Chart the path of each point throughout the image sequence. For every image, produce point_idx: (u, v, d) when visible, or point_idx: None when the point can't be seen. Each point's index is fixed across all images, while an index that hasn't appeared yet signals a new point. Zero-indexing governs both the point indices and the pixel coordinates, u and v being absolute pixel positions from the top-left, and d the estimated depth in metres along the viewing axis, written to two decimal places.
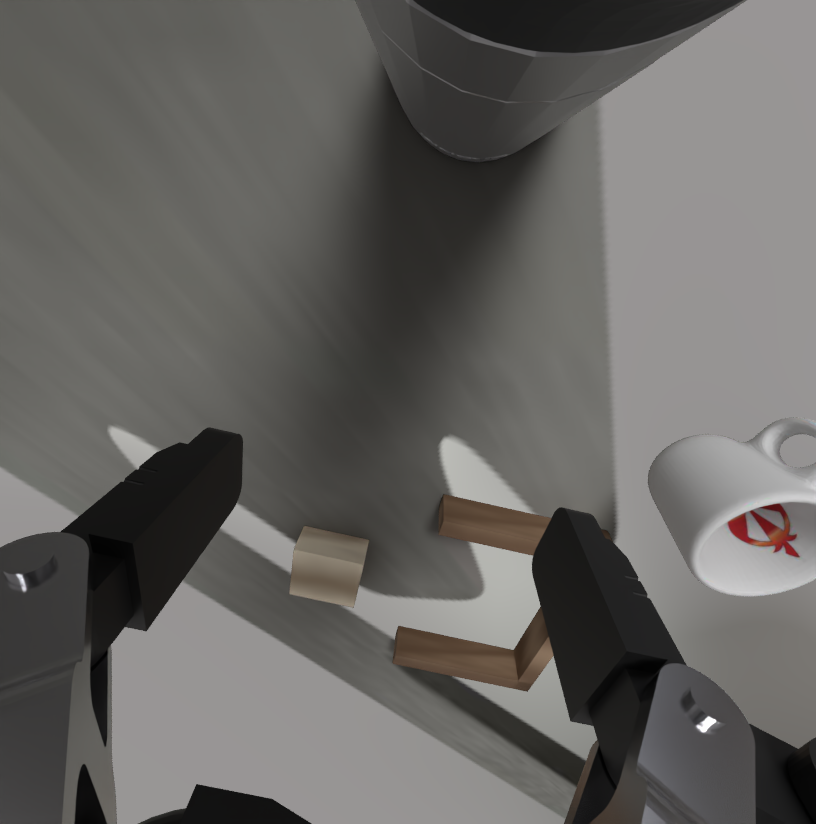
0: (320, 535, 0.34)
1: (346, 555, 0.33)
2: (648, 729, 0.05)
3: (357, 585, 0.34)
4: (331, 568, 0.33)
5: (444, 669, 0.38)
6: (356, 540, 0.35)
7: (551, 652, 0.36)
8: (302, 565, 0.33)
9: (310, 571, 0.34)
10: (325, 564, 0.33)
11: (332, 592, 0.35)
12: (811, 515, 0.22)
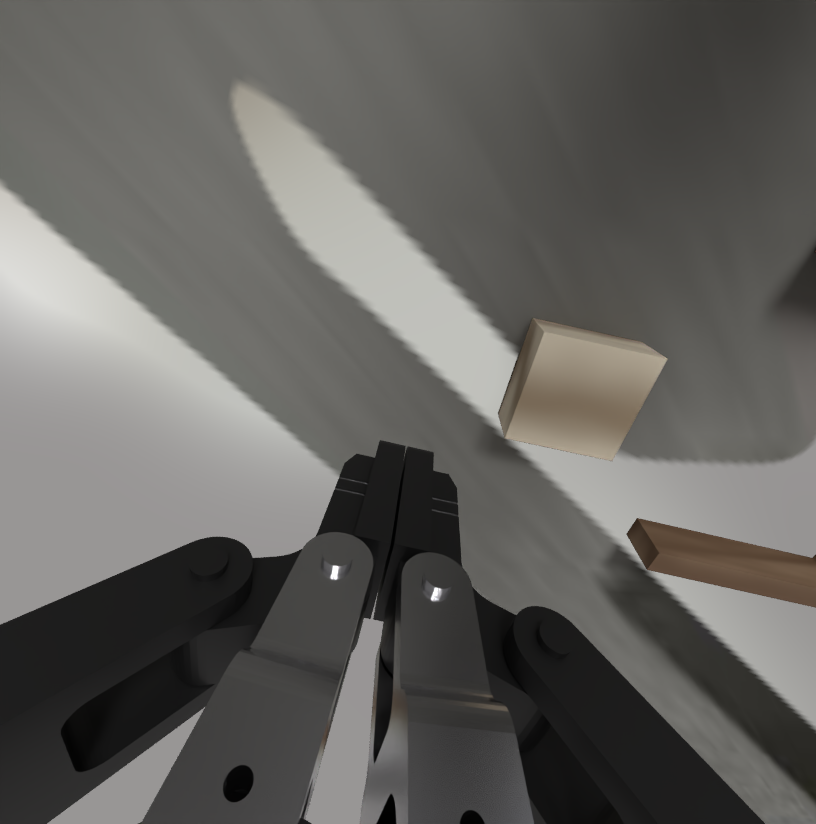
0: (567, 328, 0.20)
1: (629, 348, 0.19)
2: (402, 635, 0.05)
3: (637, 409, 0.20)
4: (601, 372, 0.19)
5: (733, 579, 0.24)
6: (625, 339, 0.20)
7: None
8: (549, 368, 0.19)
9: (559, 382, 0.19)
10: (593, 363, 0.19)
11: (584, 429, 0.20)
12: None
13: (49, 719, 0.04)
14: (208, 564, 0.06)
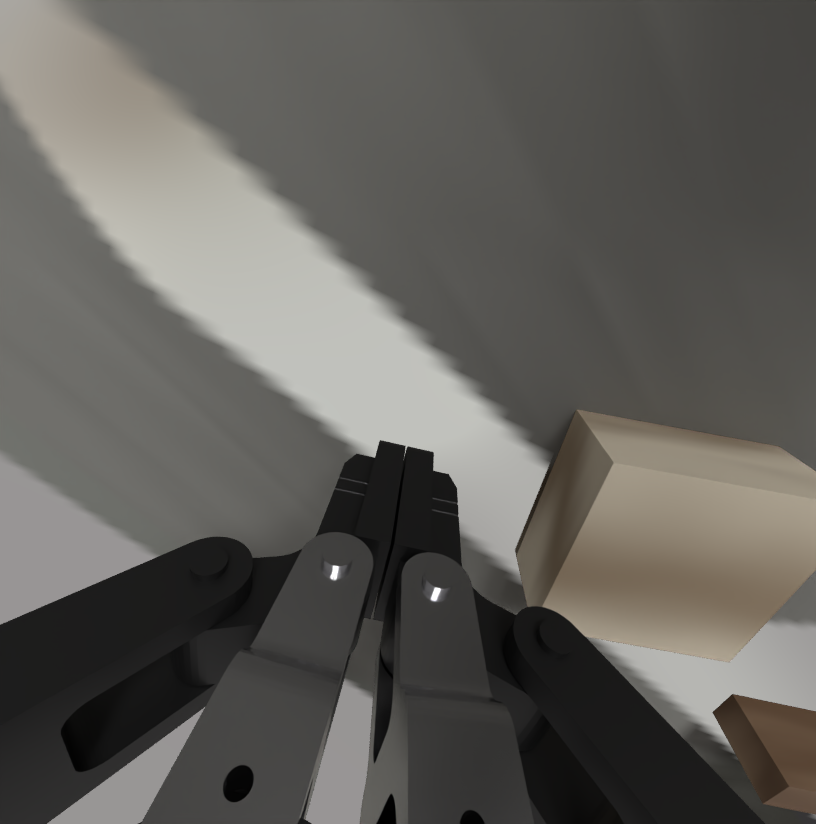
0: (645, 431, 0.11)
1: (784, 482, 0.09)
2: (402, 635, 0.05)
3: (791, 590, 0.10)
4: (727, 530, 0.09)
5: None
6: (752, 447, 0.11)
7: None
8: (619, 525, 0.10)
9: (639, 547, 0.10)
10: (712, 517, 0.09)
11: (683, 617, 0.11)
12: None
13: (49, 719, 0.04)
14: (208, 564, 0.06)
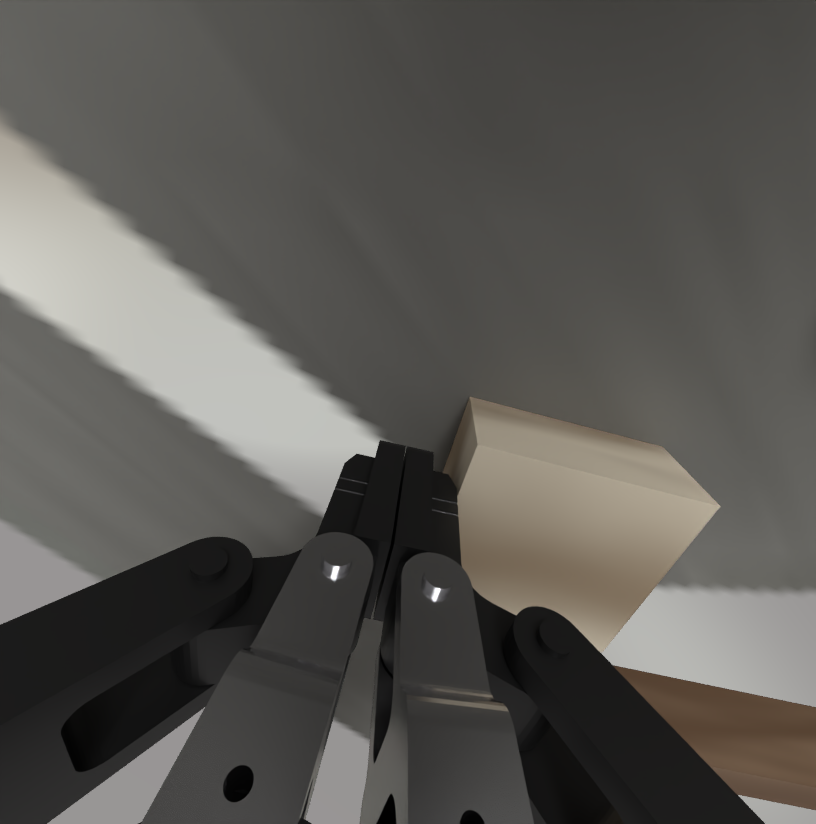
0: (529, 421, 0.11)
1: (645, 476, 0.10)
2: (402, 635, 0.05)
3: (653, 583, 0.10)
4: (589, 519, 0.10)
5: (754, 786, 0.14)
6: (634, 444, 0.11)
7: None
8: (488, 509, 0.10)
9: (508, 532, 0.10)
10: (574, 505, 0.09)
11: (555, 605, 0.11)
12: None
13: (49, 719, 0.04)
14: (208, 564, 0.06)
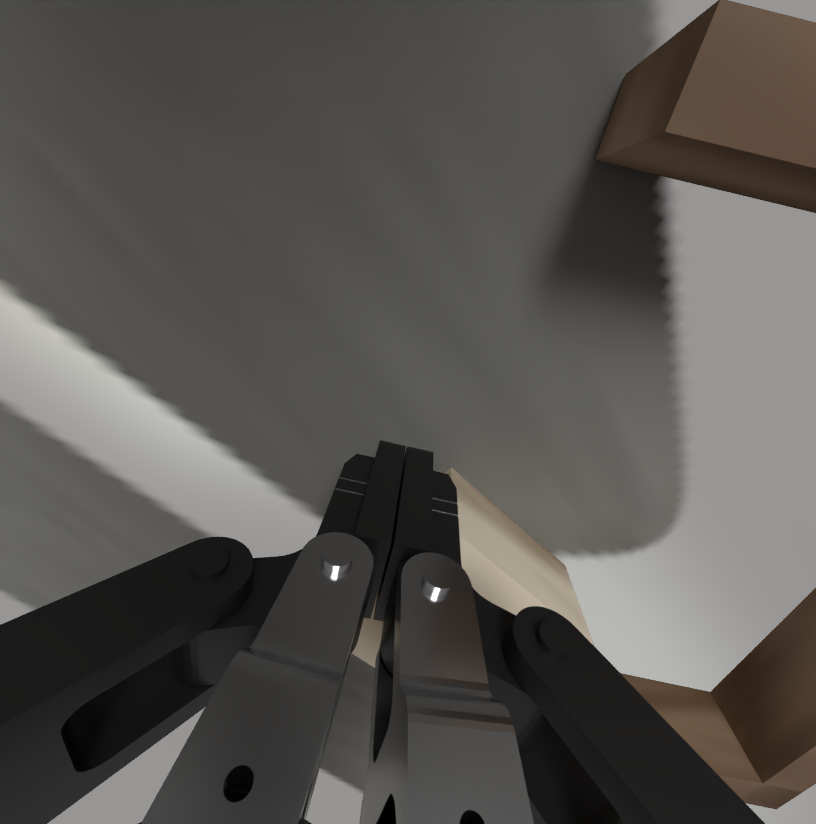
0: (489, 515, 0.12)
1: (555, 601, 0.12)
2: (402, 635, 0.05)
3: None
4: None
5: None
6: (551, 564, 0.13)
7: None
8: None
9: None
10: (496, 604, 0.11)
11: None
12: None
13: (49, 719, 0.04)
14: (208, 564, 0.06)
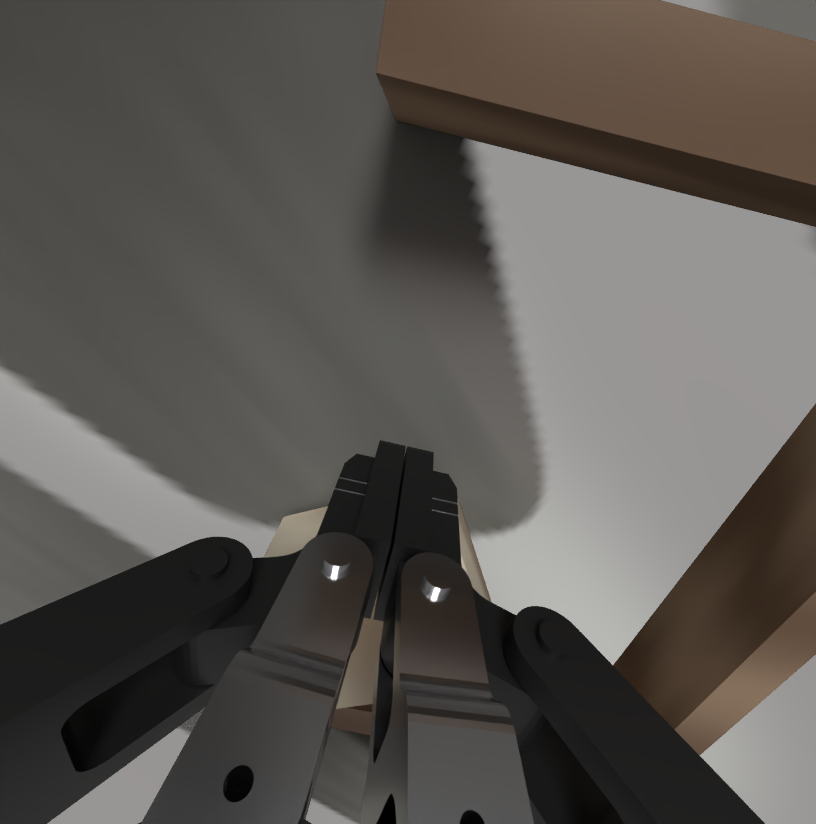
0: (466, 537, 0.12)
1: None
2: (402, 635, 0.05)
3: None
4: None
5: None
6: (487, 598, 0.14)
7: (765, 685, 0.11)
8: None
9: None
10: None
11: (348, 664, 0.12)
12: None
13: (49, 719, 0.04)
14: (208, 564, 0.06)
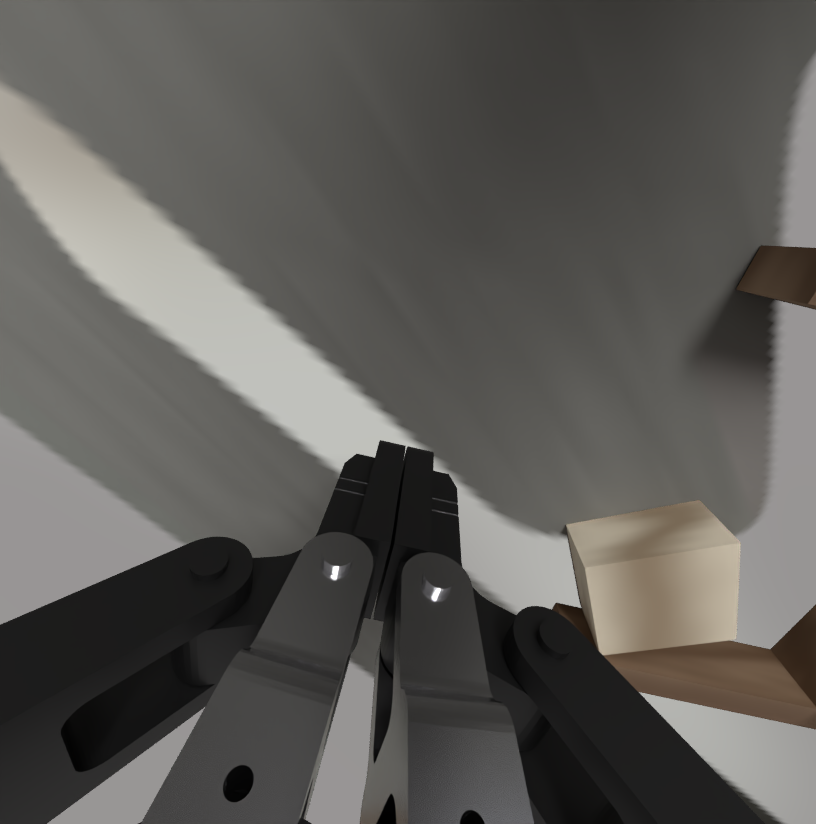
0: None
1: None
2: (402, 635, 0.05)
3: (670, 645, 0.18)
4: (705, 604, 0.17)
5: (668, 687, 0.19)
6: None
7: None
8: (694, 565, 0.16)
9: (679, 580, 0.16)
10: (712, 595, 0.17)
11: (629, 622, 0.18)
12: None
13: (49, 719, 0.04)
14: (208, 564, 0.06)
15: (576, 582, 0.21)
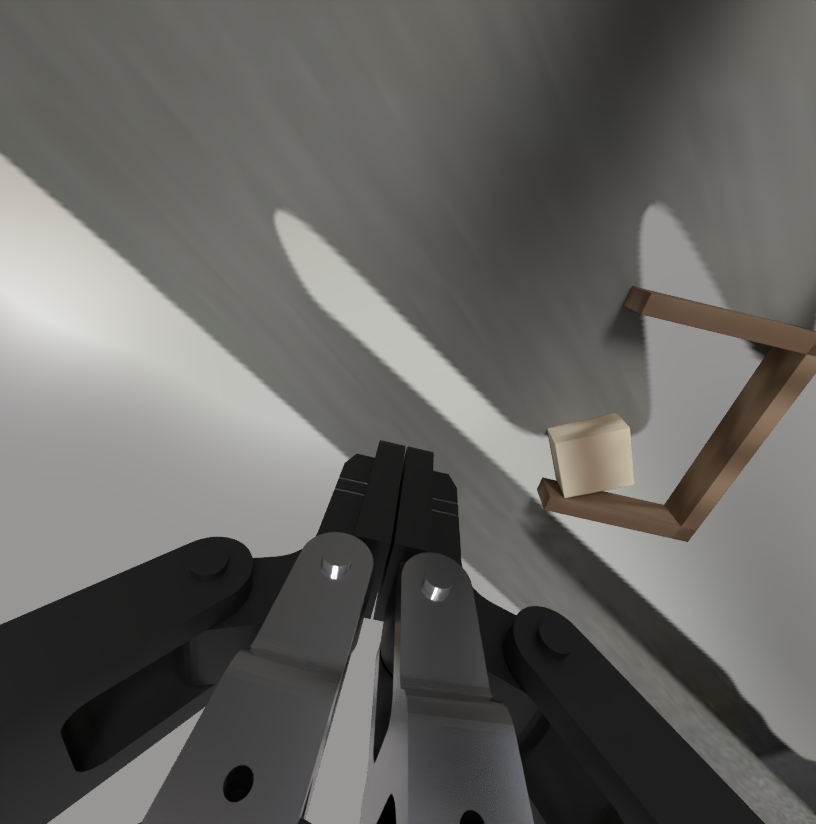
0: None
1: None
2: (402, 635, 0.05)
3: (601, 490, 0.35)
4: (616, 463, 0.33)
5: (601, 515, 0.36)
6: None
7: (728, 482, 0.33)
8: (608, 441, 0.33)
9: (602, 449, 0.33)
10: (619, 458, 0.33)
11: (578, 475, 0.34)
12: None
13: (49, 719, 0.04)
14: (208, 564, 0.06)
15: (553, 464, 0.37)
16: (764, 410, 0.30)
